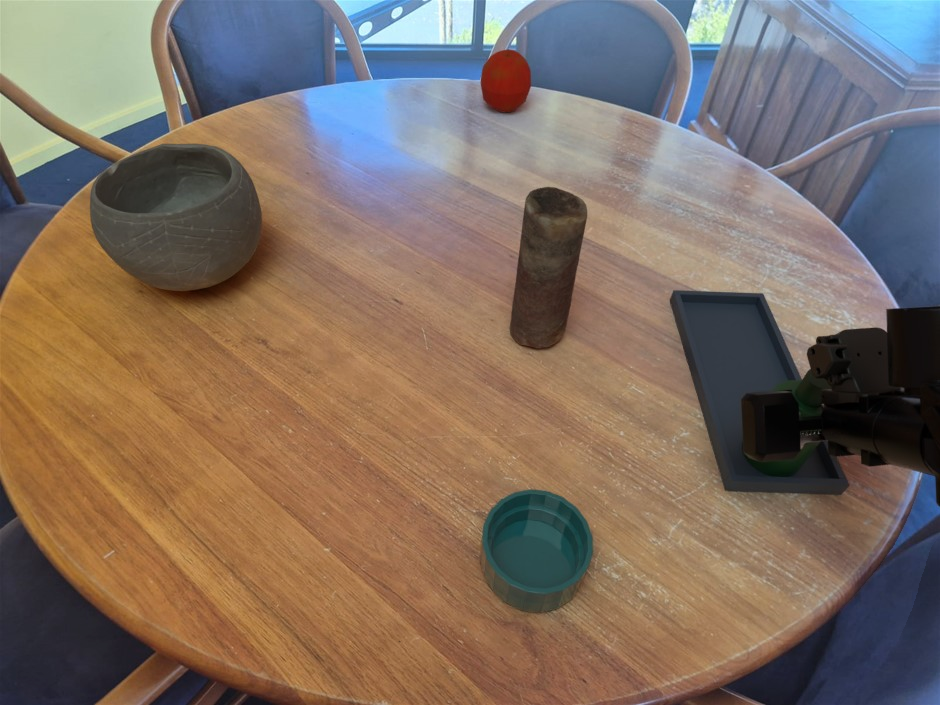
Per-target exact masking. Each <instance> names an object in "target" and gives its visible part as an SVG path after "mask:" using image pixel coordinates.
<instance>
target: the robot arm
mask: <svg viewBox="0 0 940 705" xmlns="http://www.w3.org/2000/svg"><path fill="white" fill-rule="evenodd" d="M885 313H886V330H885V329H884V328H881V327H876V326H875V327H862V328H861V327H859V328H846V329H843V330H841V331H838V332H837V333H835V334H829V335H818V336H817V337H816V338H815V344H813V345H811V346H809V347H808V348H807V352H806V357H807V361H808V364H809V369H811V372H812V375H813V376H814V377H815V378H817V379H818V378H824V379H826V381H827V383H828V385H830V386H831V387H832V389H822V390H821V402H822V405H821V409H822V413H821V416H810V417H801V413H799V403H798V401H797V400H796V398H795V396H794V395H793V393H792V390H780V391H763V392H751V393H746V394H745V395H744V396H743V397H742V399H741V409H742V430H743V451H744V454H745V455H747V456H748V457H749V458H750V459H753V460H756V461H759V462H768V461H779V460H791V459H795V458H796V457H797V456H798V454H799V453H800V452H801V449H802V448H803V446H804V444H805V443H808V442H820V441H828V455H832V456H835V457H837V458H838V457H846V456H848V457H849V456H858V457H860V465H863V466H866V467H879V466H890V465H891V466H895V467H899V468H902V469H906V470H910V471H914V472H918V473H921V474H925V475H928V476H932V477H934V480H935V502H936V503H935V504H937V506H938V507H940V305H929V306H928V305H927V306H911V307H896V308H893V307H892V308H886V310H885ZM810 430H817V431H813V432H812V431H810ZM819 430H821V431H819ZM801 431H805V433H804V432H801ZM807 431H809V432H807Z"/></svg>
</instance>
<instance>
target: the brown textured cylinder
mask: <svg viewBox="0 0 940 705" xmlns="http://www.w3.org/2000/svg"><path fill="white" fill-rule="evenodd" d="M587 221H588V206H587V203H585V201H584V199H582V198H580V197H579V196H577V195H575V194H573V193H572V192H569V191H566V190H564V189H560V188H558V187H554V186H544V187H543V186H542V187H538V188H536V189H532V190H531V191H529V192H528V195H527V196H526V197H525V202H524V210H523V215H522V225H521V235H520V239H519V240H520V241H519V250H518V258H517V267H516V275H515V282H514V290H513V297H512V305H511V312H510V313H511V316H510V325H509V334H510V336H511V337H512V338H513V340H514V341H515V342H516V343H517V344H518V345H521V346H527V347H532V348H536V349H543V348H549V347H551V346H552V345H555V344H556V343H558V341H560V339H562V338H563V336H564V335H565V333H566V331H567V330H566V329H567V326H568V320H569V314H570V309H571V306H572V300H573V293H574V287H575V282H576V277H577V271H578V267H579V266H578V265H579V263H580V262H579V261H580V255H581V251H582V246H583V240H584V236H585V230H586V225H587Z"/></svg>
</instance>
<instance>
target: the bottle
mask: <svg viewBox="0 0 940 705" xmlns="http://www.w3.org/2000/svg"><path fill="white" fill-rule="evenodd" d="M822 389H832V387H831V386H830V385H828V383H827V381H826V379H824V378H818V379H817V378H815V377H814V376H813V375H812V372H811V368H809V369H808V370H807V371H806V372H805V375H804V376H803V378H802V380H798V381H796V380H789V381H784V382H781V383H779V384H778V385H776V386H775V388H774V389H773V391H780V390H792V393H793V395H794V396H795V398H796V400H797V401H798V403H799V413H801V417H810V416H821V413H822V409H821V405H822V402H821V390H822ZM810 431H812V432H813V431H817V430H810ZM819 431H821V430H819ZM801 432H804V433H805V431H801ZM807 432H809V431H807ZM820 442H821V441H820ZM820 442H808V443H805V444H804V446H803V448H802V449H801V452H800V453H799V454H798V456H797V457H796V458H795V459H791V460H779V461H768V462H759V461H756V460H753V459H750V458H749V457H748V456H747V455H745V454H744V451H743V441H742V451H743V454H744V456H745V458H746V459H747V461H748V462H749V463H750V464H751V465H752V466H753V467H754V468H755V469H757V470H758V471H760V472H761V473H764V474H766V475H768V476H772V477H790V476H792V475H794V474H795V473H797V472H798V470H799V469H800V468H801V466H802V465H803V464H804V463H805V461H806V460H807V459H808V457H809V456H810V455H811V453H812V452H813V451H814V449H815V448H816V447H817V446H818V444H819V443H820Z"/></svg>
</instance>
